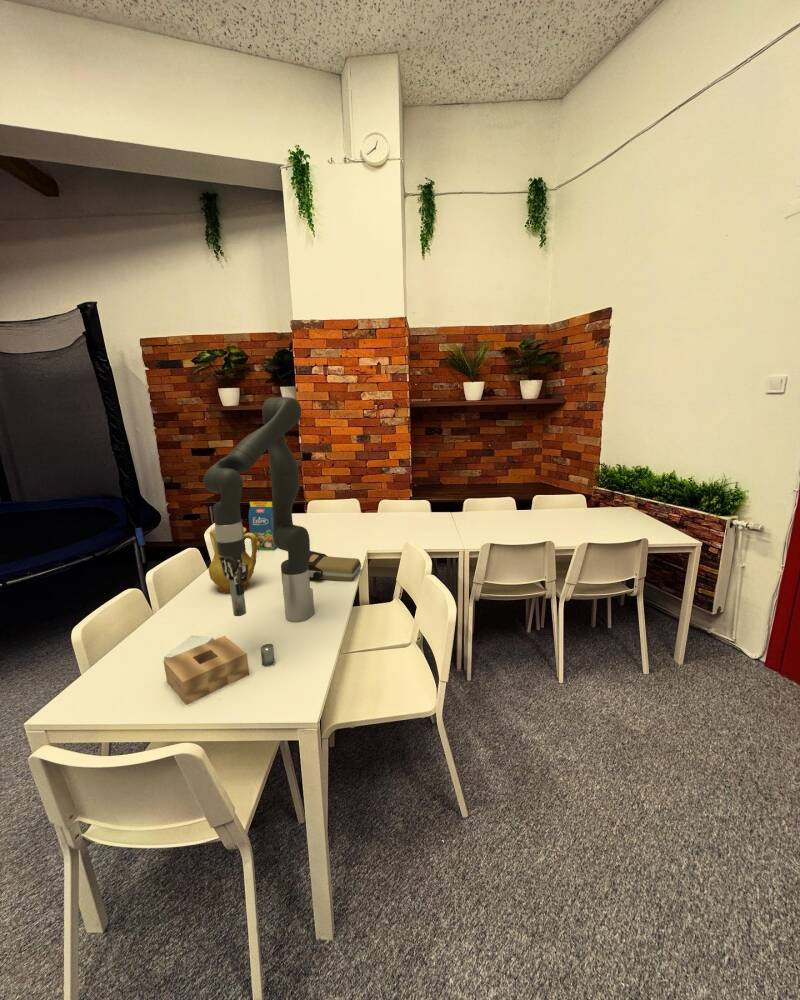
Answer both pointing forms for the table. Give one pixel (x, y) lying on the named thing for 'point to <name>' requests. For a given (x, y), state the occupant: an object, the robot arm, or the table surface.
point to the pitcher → (223, 582)
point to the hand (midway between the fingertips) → (237, 592)
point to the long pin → (237, 600)
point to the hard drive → (189, 645)
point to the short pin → (267, 655)
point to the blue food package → (262, 524)
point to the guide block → (206, 668)
